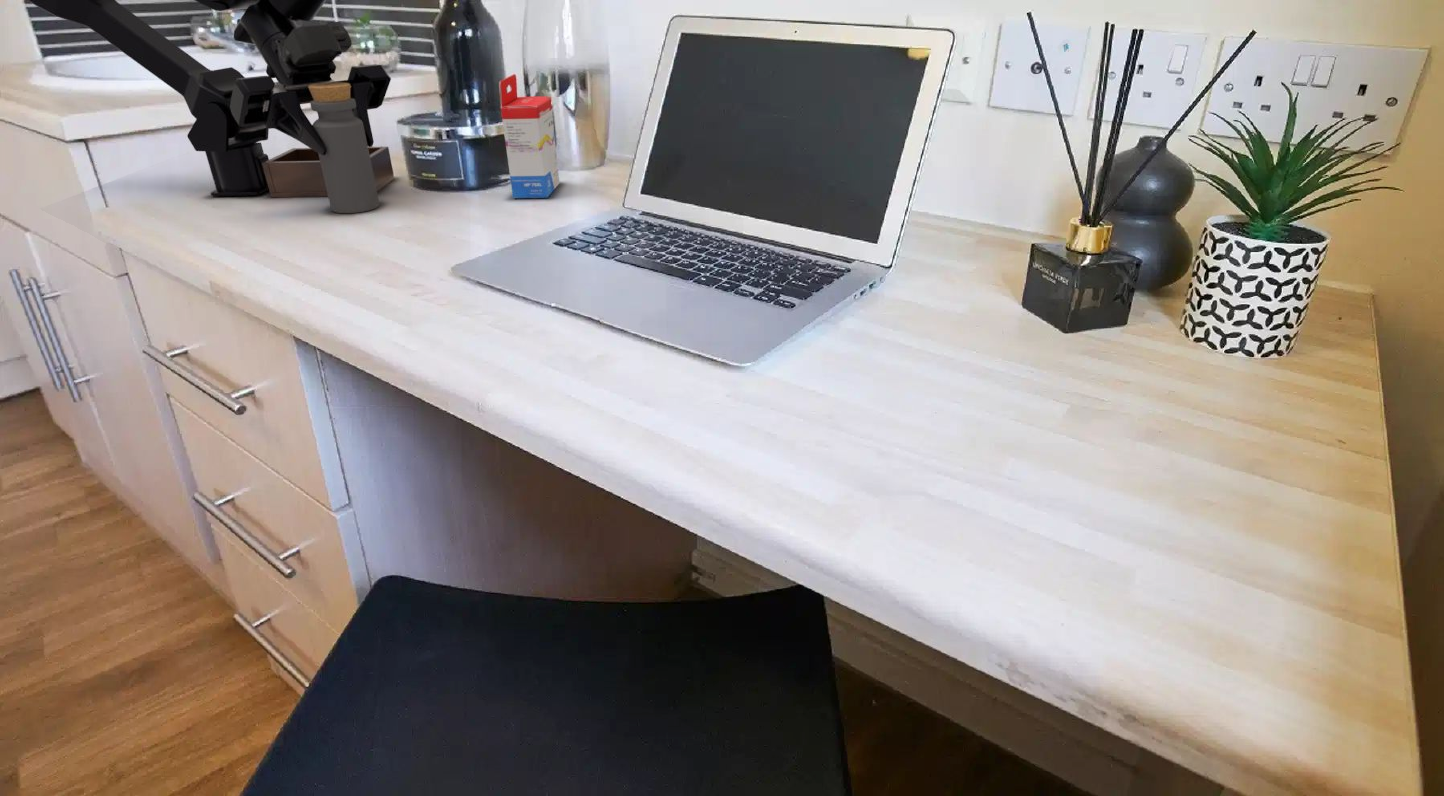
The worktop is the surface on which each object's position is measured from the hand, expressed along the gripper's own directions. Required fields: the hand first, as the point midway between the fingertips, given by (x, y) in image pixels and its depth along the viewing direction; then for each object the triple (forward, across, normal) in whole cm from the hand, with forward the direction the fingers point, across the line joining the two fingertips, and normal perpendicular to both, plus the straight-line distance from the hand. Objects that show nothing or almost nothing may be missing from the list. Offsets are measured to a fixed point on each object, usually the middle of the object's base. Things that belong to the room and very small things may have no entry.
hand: (348, 148), depth 104 cm
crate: (-4, +4, +15) cm, 16 cm away
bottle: (+4, 0, +6) cm, 8 cm away
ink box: (+13, +20, -2) cm, 24 cm away
